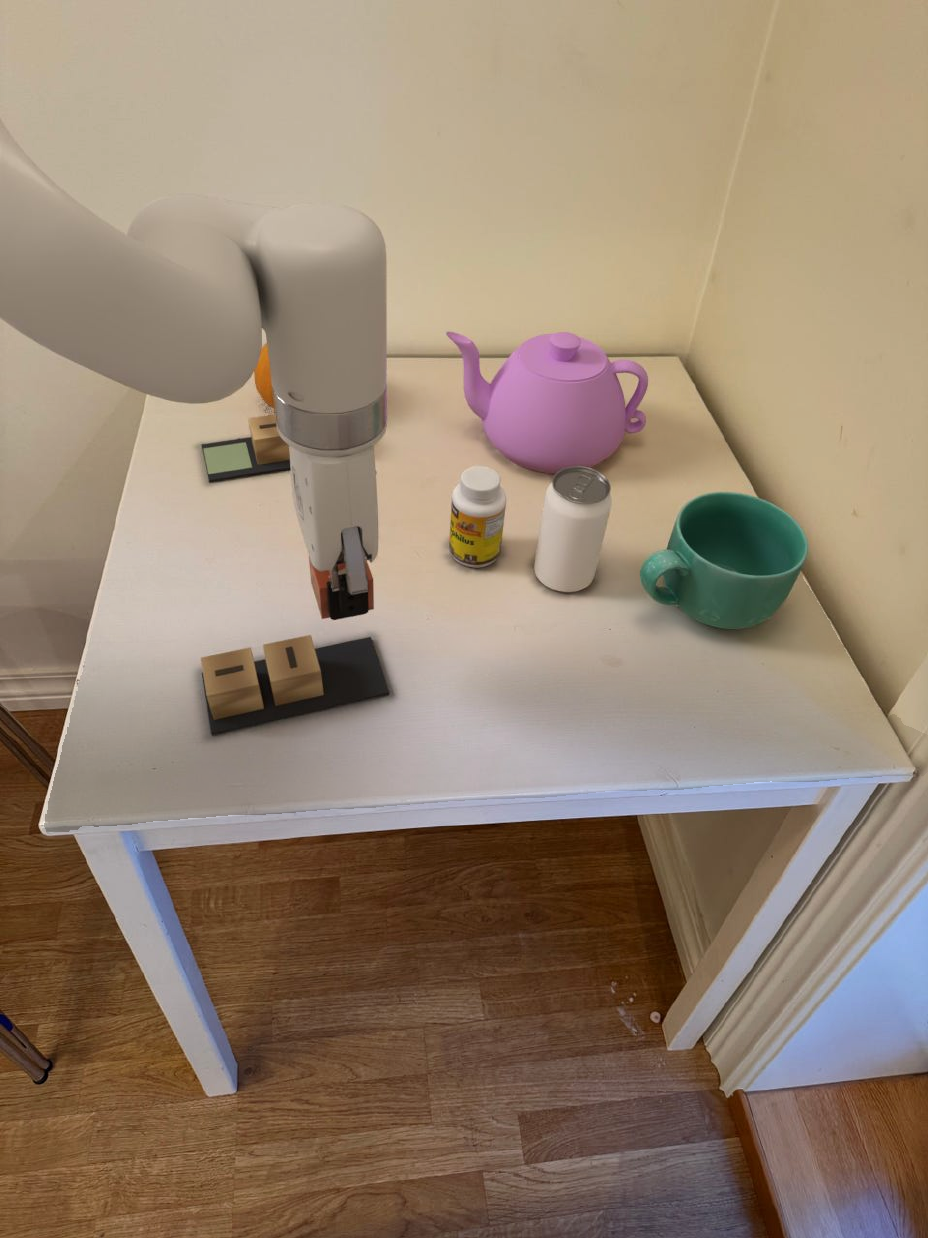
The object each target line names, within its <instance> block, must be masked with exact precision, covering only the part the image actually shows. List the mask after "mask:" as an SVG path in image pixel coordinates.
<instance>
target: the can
mask: <svg viewBox="0 0 928 1238" xmlns="http://www.w3.org/2000/svg"><path fill="white" fill-rule="evenodd" d="M611 487H612V486H611V483H610V481H609V479H608V478H607V476H605V475H604V474H603V473H601V472H600V471H598V470H596V469H593V468H592V467H590V468H588V467H582V466H572V467H567V468H564V469H561V470H560V471H558V472H557V473H556V474H553V477H552V481H551V482H550V484H549V485H548V487H547V489H546V492H545V495H544V496H545V497H544V502H543V506H542V507H543V509H542V514H541V521H540V526H539V531H538V539H537V545H536V550H535V557H534V565H533V571H534V575H535V576H536V578H537V579H538V581H539V582H540V583H541V584H542V585H543V586H545V587H546V588H548V589H550V590H552V591H554V592H555V591H556V592H560V593H568V594H569V593H577V592H579V591H582V590H584V589H586V588H587V587H589V586H590V585H591V584H592V582H593V580H594V579H595V575H596V572H597V571H596V570H597V567H598V563H599V559H600V556H601V551H602V547H603V543H604V539H605V534H606V530H607V526H608V521H609V518H610V512H611V509H612V504H613V503H612V501H613V499H612V495H611V494H612V493H611V491H612V490H611V489H612V488H611Z"/></svg>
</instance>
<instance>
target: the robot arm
mask: <svg viewBox="0 0 928 1238" xmlns="http://www.w3.org/2000/svg"><path fill="white" fill-rule="evenodd" d="M387 280H388V279H387V246H386V242H385V238H384V235H383V233H382V230H381V229H380V227H379V226H378V225H377V223H376V221H374V220H373V219H372V218H371V217H369V216H368V215H367V214H366V213H364V212H362V211H360V210H358V209H355V208H354V207H350V206H347V205H342V204H337V203H327V202H307V203H299V204H293V205H289V206H286V207H276V206H267V205H260V204H254V203H249V202H248V203H247V202H243V201H242V202H241V201H237V200H236V201H234V200H230V199H225V198H219V197H215V196H209V195H203V194H202V195H201V194H192V193H175V194H169V195H164V196H161V197H158V198H156V199H153V200H151V201H149V202H148V203H147V204H145V205H144V206H143V207H141V208H140V209H139V211H138V212H137V213H136V214H135V216H134V217H133V219H132V221H131V222H130V224H129V227H128V230H127V233H125V232H123V231H121V230H120V229H118V228H117V227H116V226H113V225H112V224H111V223H109V222H107V221H105V220H104V219H102V218H101V217H100V216H98V215H97V214H95V213H94V212H92V211H91V210H90V209H88V208H87V207H85V206H84V205H83V204H81V203H80V202H79V201H78V200H76V199H75V198H74V197H72V196H71V195H70V194H69V193H68V192H66V191H65V190H64V189H62V188H61V187H60V186H59V185H58V184H57V183H56V182H54V180H52V179H51V177H49V176H48V175H47V174H46V173H45V172H44V171H43V170H42V169H40V167H39V166H38V165H37V164H36V163H35V162H34V161H33V159H31V157H30V156H29V155H28V154H27V153H26V152H25V150H24V149H23V148H22V147H21V146H20V144H19V143H18V142H17V141H16V139H15V138H14V137H13V135H11V133H10V131H9V129H8V128H7V127H6V126H5V124H4V122H3V121H2V119H0V319H1V320H2V321H3V322H5V323H6V324H8V325H9V326H11V327H12V328H13V329H15V330H16V331H17V332H19V333H21V334H22V335H24V336H26V337H27V338H28V339H30V340H32V341H33V342H35V343H36V344H38V345H39V346H41V347H43V348H45V349H47V350H49V351H51V352H53V353H55V354H56V355H58V356H61V357H63V358H65V359H67V360H69V361H71V362H73V363H76V364H77V365H80V366H82V367H84V368H86V369H88V370H90V371H93V372H94V373H97V374H99V375H100V376H103V377H106V378H107V379H110V380H112V381H114V382H116V383H117V384H121V385H123V386H126V387H128V388H130V389H133V390H135V391H138V392H140V393H142V394H146V395H148V396H151V397H155V398H159V399H162V400H165V401H169V402H174V403H181V404H190V405H194V404H195V405H197V404H198V405H199V404H210V403H213V402H218V401H221V400H223V399H226V398H227V397H231V396H232V395H233V394H235V393H236V392H238V391H239V390H240V389H242V388H243V387H244V386H245V385H246V384H247V383H248V381H249V380H250V379H251V378H252V376H253V375H254V370H255V368H256V366H257V364H258V361H259V358H260V354H261V349H262V347H263V331H264V334H265V339H266V343H267V348H268V357H269V365H270V374H271V382H272V390H273V399H274V408H275V409H274V415H275V416H276V425H277V431H278V433H279V435H280V437H281V438H282V439H283V441H285V442H286V443H287V444H288V445H289V452H290V467H291V470H290V483H291V484H290V485H291V495H292V502H293V506H294V510H295V513H296V517H297V521H298V524H299V528H300V531H301V535H302V537H303V540H304V544H305V547H306V551H307V554H308V558H309V557H310V560H311V563H312V565H313V566H314V567H315V568H316V569H317V570H319V571H326V570H329V574H330V581H329V582H327V595H328V608H329V615H330V620H331V621H336V620H343V619H347V618H353V617H357V616H363V615H366V614H368V613H369V611H370V610H369V601H368V578H367V567H366V560H367V561H369V562H370V564H371V563H373V562H374V561H375V560H376V558H377V556H378V553H379V506H378V505H379V504H378V502H379V501H378V488H377V487H378V486H377V485H378V484H377V469H376V458H375V457H376V455H375V445H376V444H378V442H379V441H381V439H382V438H383V436H384V435H385V433H386V431H387V425H388V424H387V423H388V422H387V421H388V419H387V416H388V413H387V412H388V409H387V406H388V405H387V404H388V403H387V401H388V400H387V399H388V398H387V396H388V395H387V394H388V393H387V391H388V389H387V387H388V385H387V377H388V376H387V375H388V374H387V369H388V368H387V366H388V365H387V361H388V360H387V358H388V357H387V355H388V354H387V350H388V349H387V348H388V347H387V345H388V344H387V341H388V340H387V338H388V337H387V334H388V333H387V328H388V327H387V322H388V320H387V319H388V317H387V315H388V314H387V313H388V312H387V310H388V309H387V307H388V306H387V304H388V303H387V299H388V298H387V297H388V296H387V295H388V294H387V290H388V289H387V287H388V286H387V285H388V284H387ZM342 563H345V568H346V574H341V575H338V567H337V564H342Z"/></svg>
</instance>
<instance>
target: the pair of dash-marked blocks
mask: <svg viewBox="0 0 928 1238" xmlns="http://www.w3.org/2000/svg"><path fill="white" fill-rule="evenodd" d="M247 422H248V427H249V433H250V434H249V435H250V437H251V440H252V445H253V448H254V452H255V456H256V460H257V463H258V465H261V464H268V463H274V462H281V461H287V460H290V452H289V445H288V444H287V443H286V442H285V441H283V439H282V438H281V437H280V435H279V433H278V431H277V425H276V416H275V414H269V415H263V416H262V415H261V416H254V417H248V418H247Z"/></svg>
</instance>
